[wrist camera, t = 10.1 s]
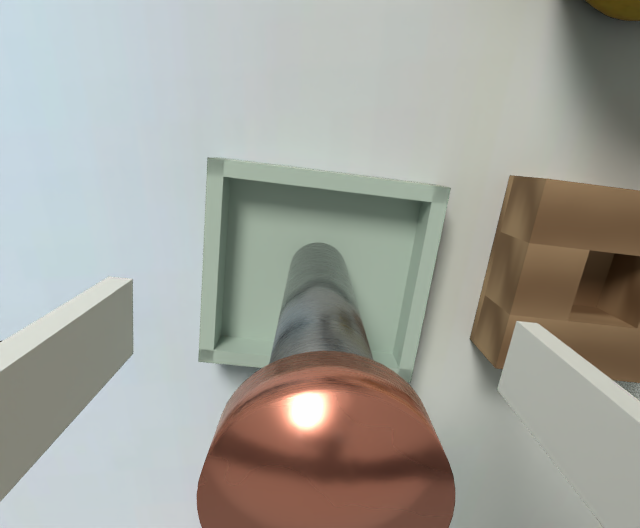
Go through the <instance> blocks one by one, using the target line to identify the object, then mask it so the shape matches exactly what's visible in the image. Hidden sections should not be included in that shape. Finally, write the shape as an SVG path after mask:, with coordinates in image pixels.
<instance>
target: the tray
mask: <svg viewBox="0 0 640 528" xmlns="http://www.w3.org/2000/svg"><path fill="white" fill-rule="evenodd" d="M450 189H451V188H448V187H444V186H439V185H434V184H426V183H418V182H410V181H402V180H394V179H386V178H378V177H370V176H362V175H354V174H346V173H338V172H330V171H322V170H314V169H306V168H298V167H290V166H282V165H274V164H266V163H258V162H250V161H242V160H234V159H226V158H208V159H207V181H206V204H205V226H204V248H203V271H202V293H201V315H200V338H199V360H198V362H206V363H217V364H227V365H237V366H247V367H257V368H263V367H265V366H267V365H269V362H270V357H271V352H272V348H273V343H274V338H275V334H276V329H277V324H278V320H279V315H280V310H281V306H282V301H283V296H284V292H285V287H286V282H287V278H288V273H289V268H290V264H291V260H292V258H293V256H294V255H295V253H296V252H297V251H298V250H299V249H300V248H302V247H303V246H305V245H307V244H310V243H317V242H318V243H325V244H329V245H331V246H333V247H334V248H336V249H337V250H338V251H339V252H340V253H341V255H342V257H343V259H344V261H345V264H346V268H347V271H348V274H349V278H350V281H351V285H352V288H353V292H354V295H355V298H356V302H357V305H358V309H359V312H360V315H361V319H362V322H363V326H364V329H365V332H366V336H367V339H368V343H369V346H370V350H371V353H372V356H373V360H374V361H376V362H378V363H381V364H383V365H384V366H386V367H388V368H389V369H391V370H393V371H394V372H395V373H397V374H398V375H399V376H400V377H402V378H403V379H404V380H405V381H406V382H411V377H412V373H413V368H414V363H415V358H416V353H417V348H418V344H419V339H420V334H421V329H422V324H423V320H424V315H425V310H426V305H427V300H428V295H429V291H430V286H431V281H432V276H433V271H434V266H435V262H436V257H437V252H438V247H439V242H440V238H441V233H442V228H443V223H444V218H445V213H446V209H447V204H448V199H449V194H450Z"/></svg>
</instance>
